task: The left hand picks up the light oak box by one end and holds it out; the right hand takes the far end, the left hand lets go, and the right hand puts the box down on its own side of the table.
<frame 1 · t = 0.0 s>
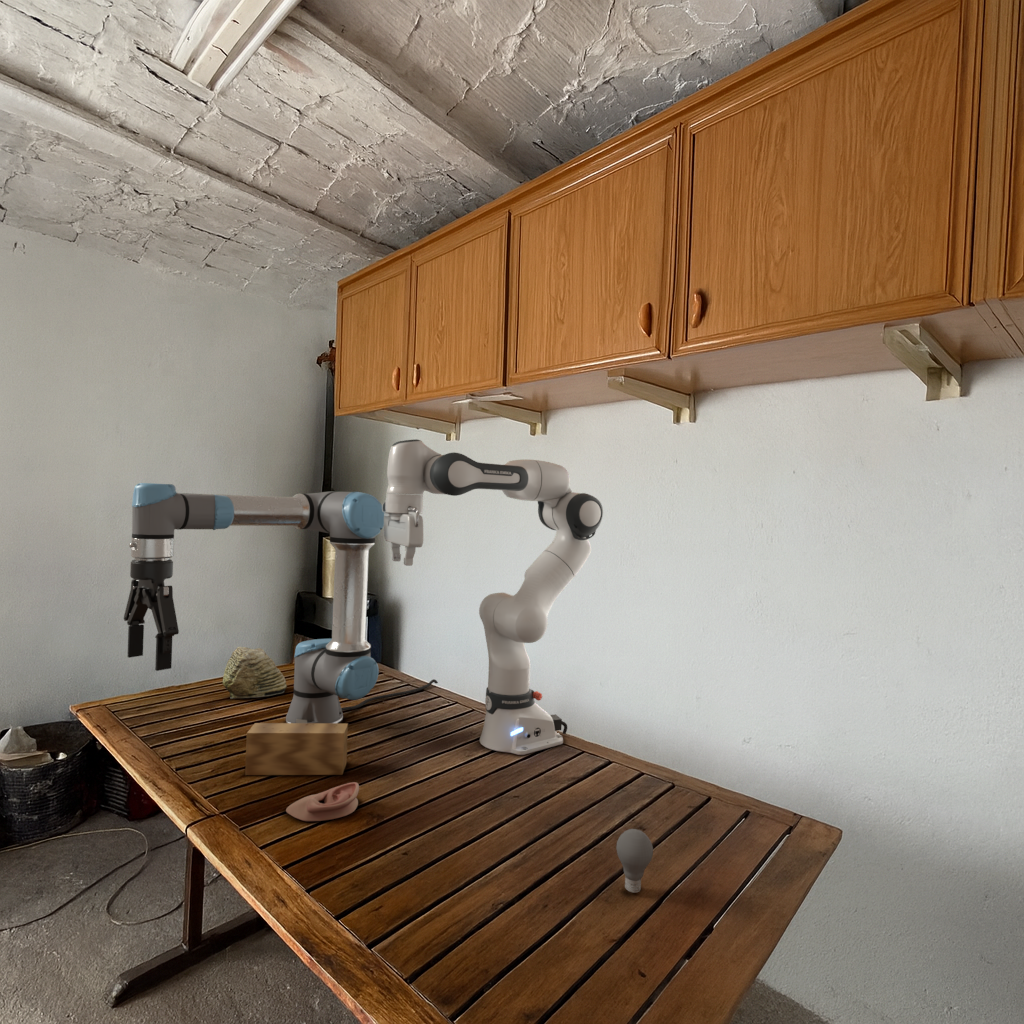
left hand: (148, 662, 129), 28 cm above the table, tool pointing down, fingers open, 13 cm apart
right hand: (402, 563, 153), 48 cm above the table, tool pointing down, fingers open, 8 cm apart
fossil: (254, 694, 198), on the table
anatomical model: (322, 809, 129), on the table
light bulb: (632, 891, 106), on the table
box: (297, 769, 147), on the table
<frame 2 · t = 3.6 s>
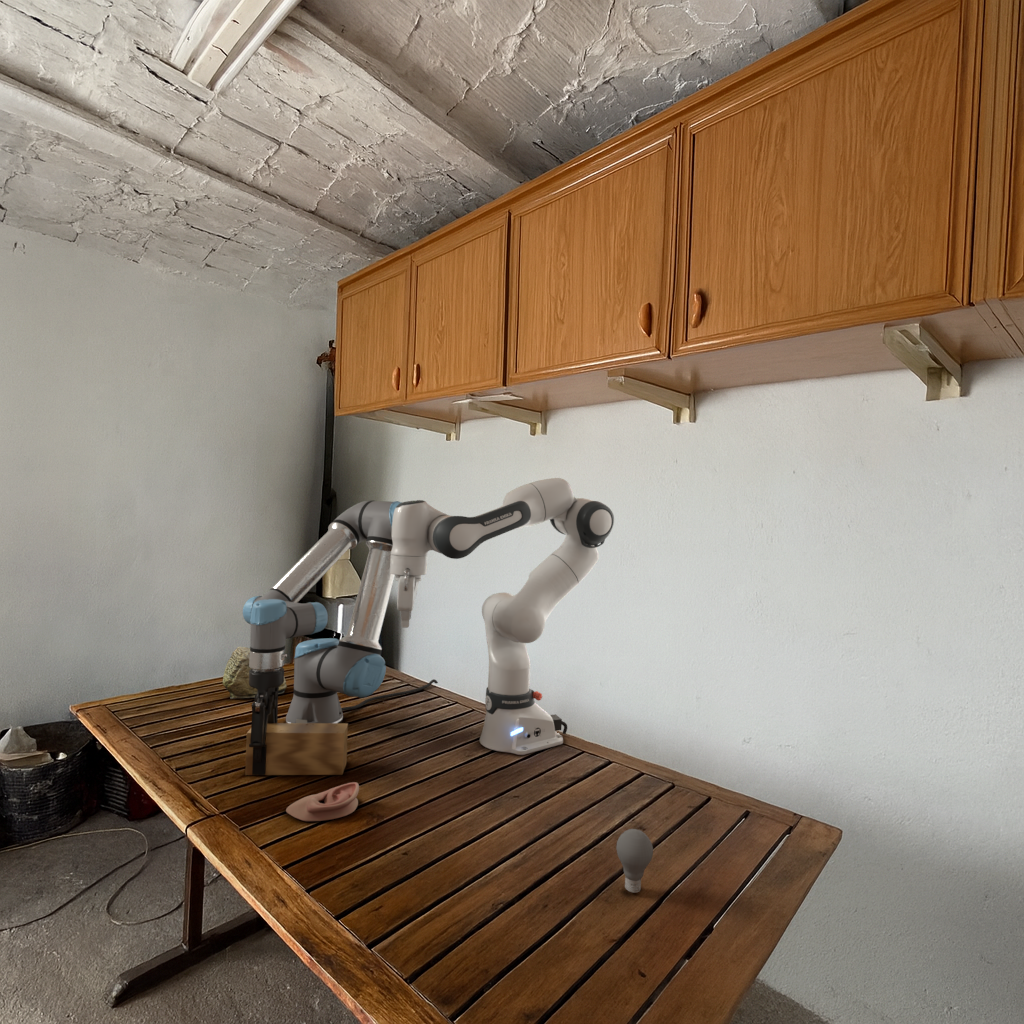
left hand: (263, 767, 146), 0 cm above the table, tool pointing down, fingers closed on box, 6 cm apart
right hand: (406, 623, 155), 33 cm above the table, tool pointing down, fingers open, 8 cm apart
box: (297, 769, 147), on the table, touching left hand
everything else where it was.
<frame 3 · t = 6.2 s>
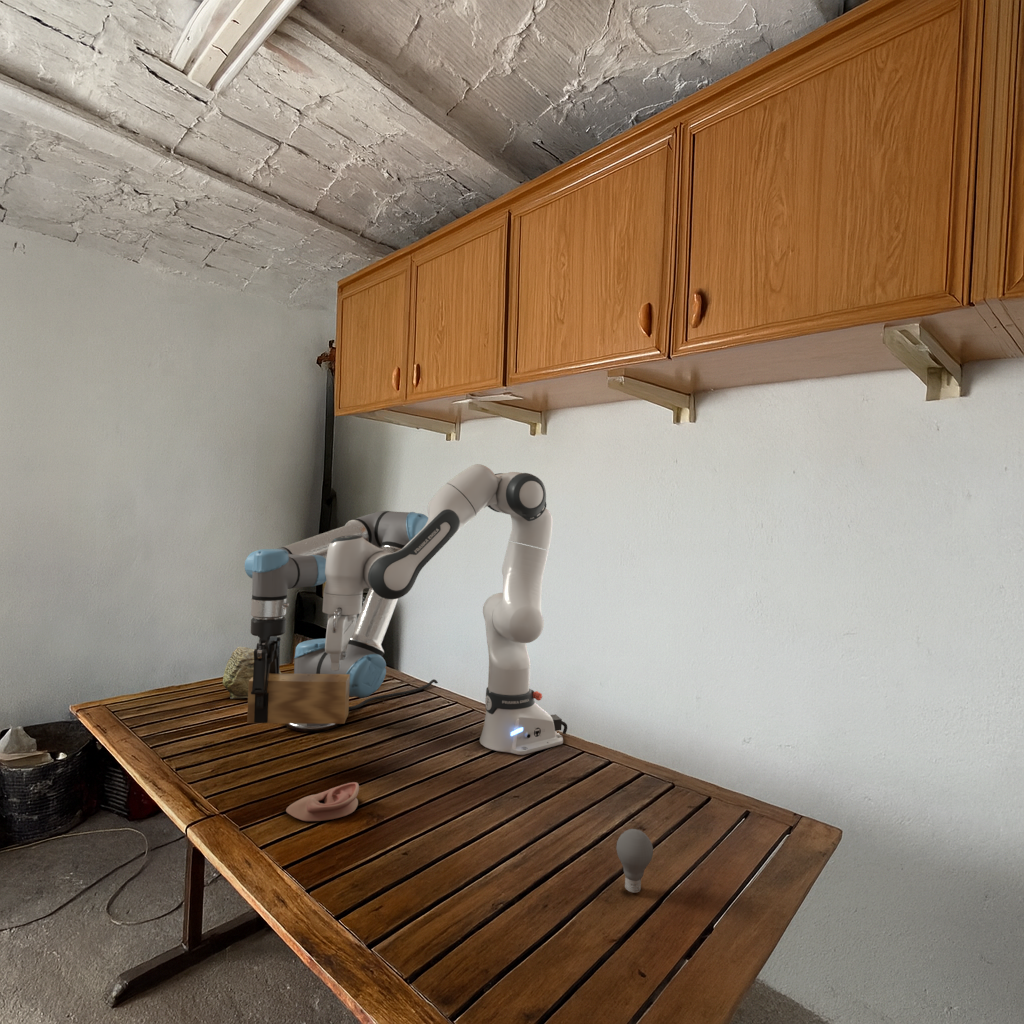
left hand: (265, 716, 146), 12 cm above the table, tool pointing down, fingers closed on box, 6 cm apart
right hand: (338, 664, 147), 25 cm above the table, tool pointing down, fingers open, 8 cm apart
box: (299, 718, 146), point 12 cm above the table, touching left hand
everything else where it was.
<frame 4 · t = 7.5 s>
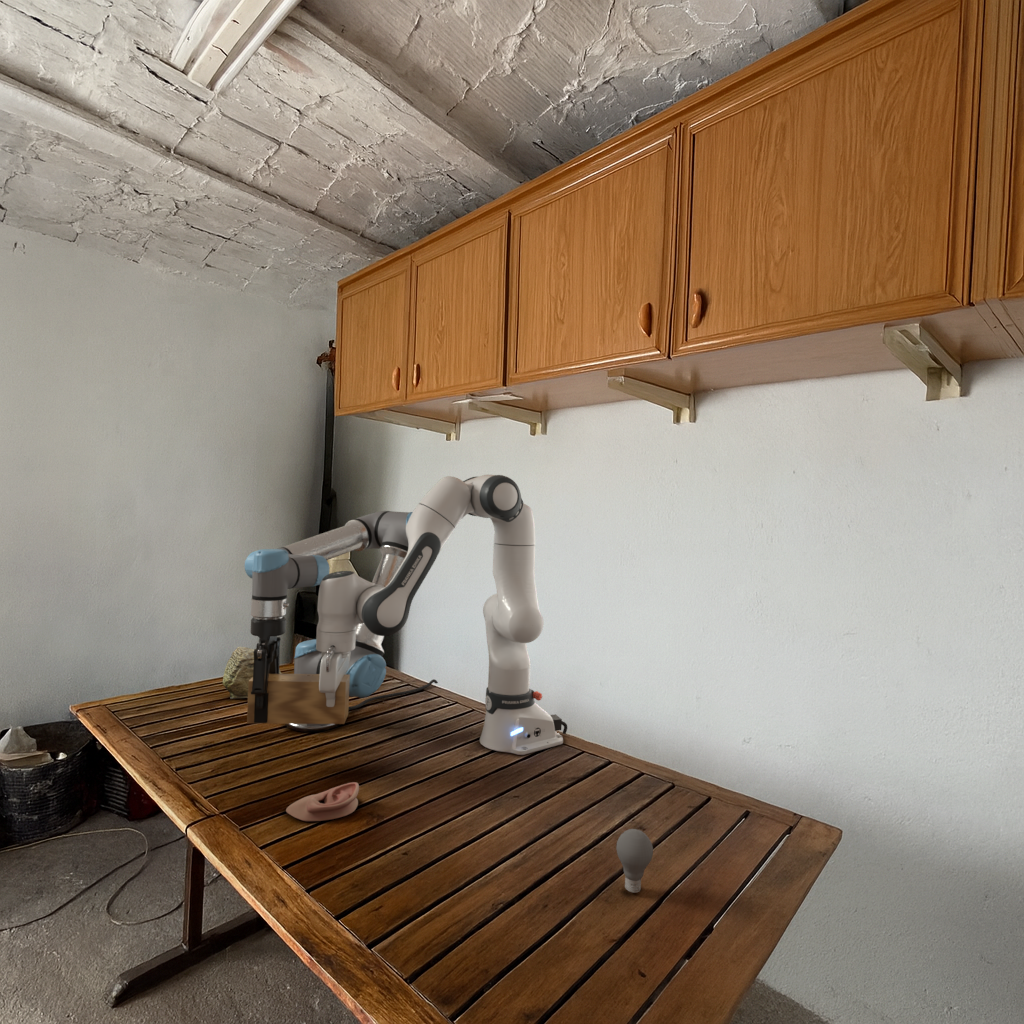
left hand: (265, 716, 146), 12 cm above the table, tool pointing down, fingers closed on box, 6 cm apart
right hand: (333, 700, 147), 16 cm above the table, tool pointing down, fingers closed on box, 6 cm apart
box: (299, 718, 146), point 12 cm above the table, touching left hand, right hand
everything else where it was.
when the left hand's fingers open (12 cm above the table, at t = 8.7 s): box stays where it is, held by the right hand.
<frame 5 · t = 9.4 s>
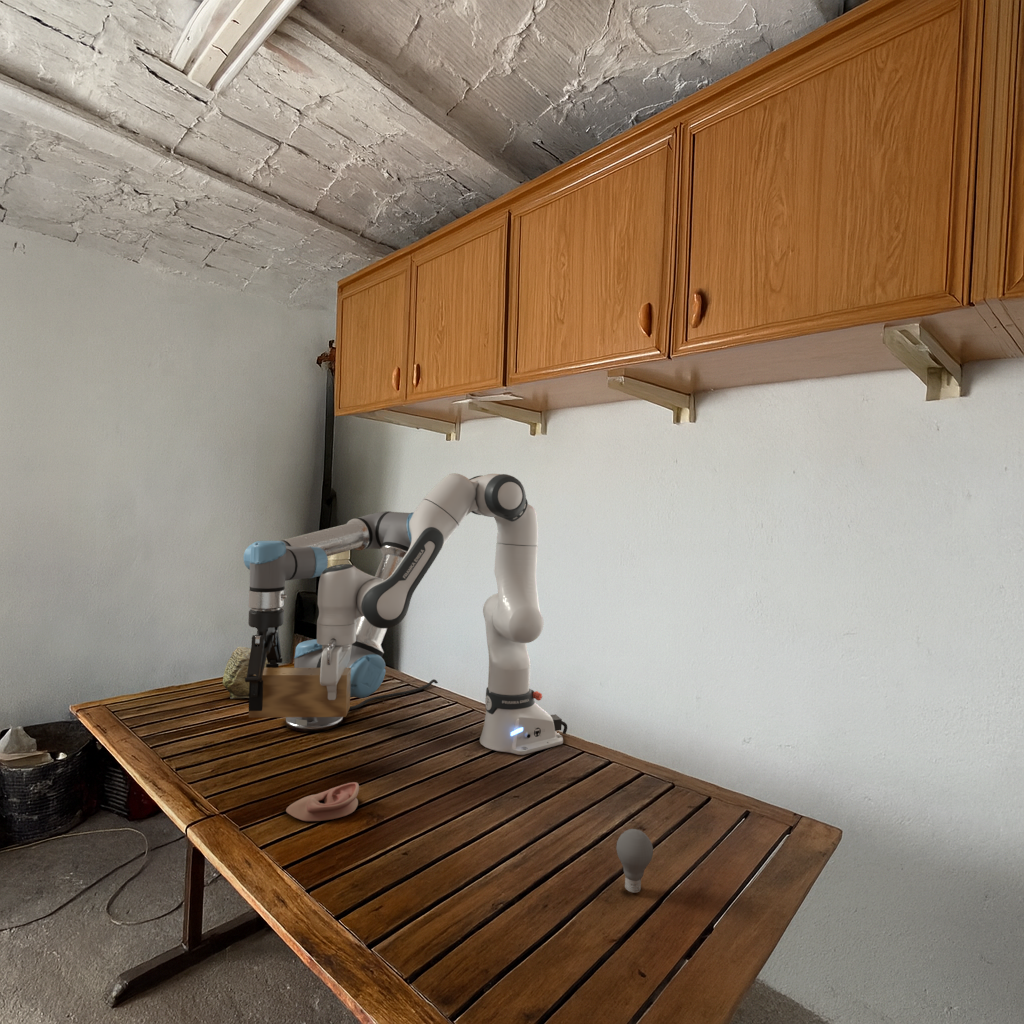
left hand: (263, 700, 146), 16 cm above the table, tool pointing down, fingers open, 13 cm apart
right hand: (335, 693, 147), 18 cm above the table, tool pointing down, fingers closed on box, 6 cm apart
box: (300, 712, 146), point 13 cm above the table, touching right hand
everything else where it was.
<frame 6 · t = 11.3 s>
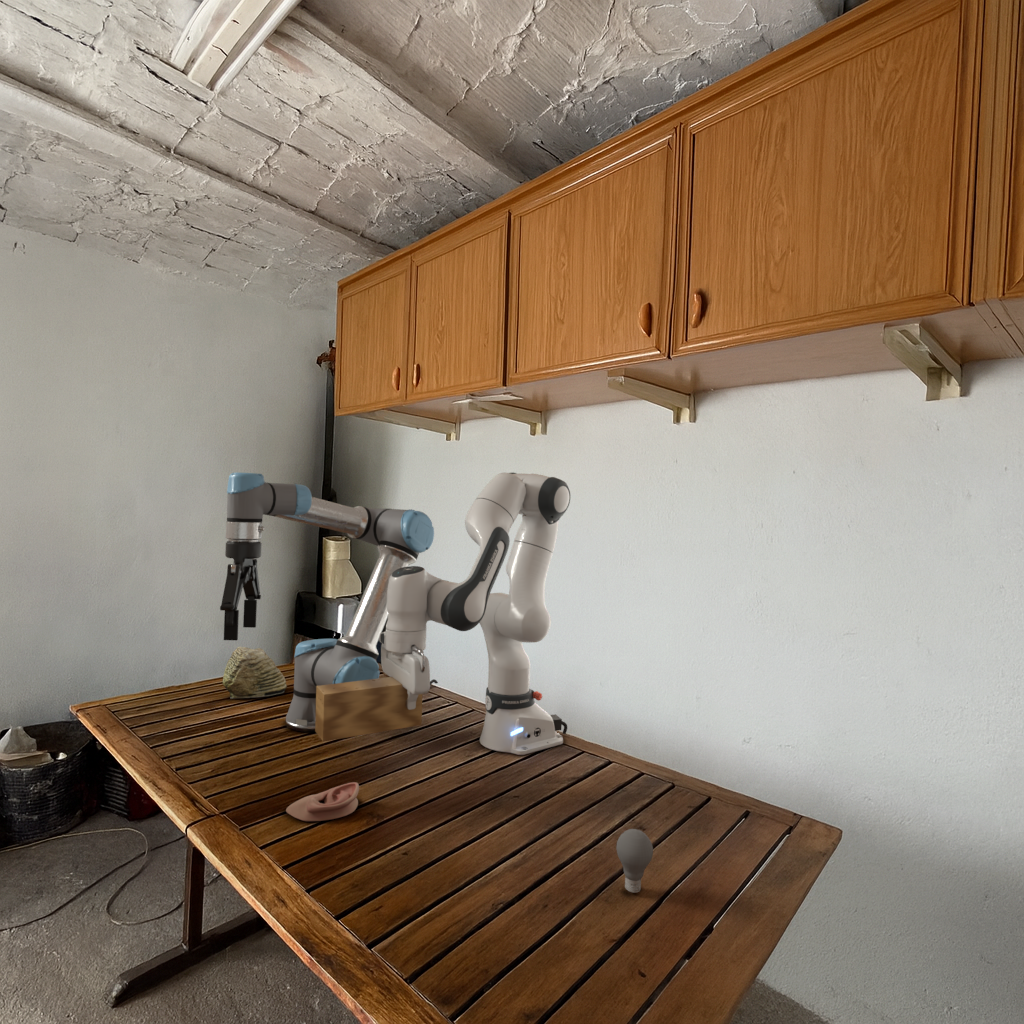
left hand: (240, 633, 144), 31 cm above the table, tool pointing down, fingers open, 13 cm apart
right hand: (403, 703, 140), 19 cm above the table, tool pointing down, fingers closed on box, 6 cm apart
box: (369, 728, 136), point 14 cm above the table, touching right hand
everything else where it was.
when the right hand's fingers open (5 cm above the table, at t = 15.4 s): box moves 1 cm, on the table.
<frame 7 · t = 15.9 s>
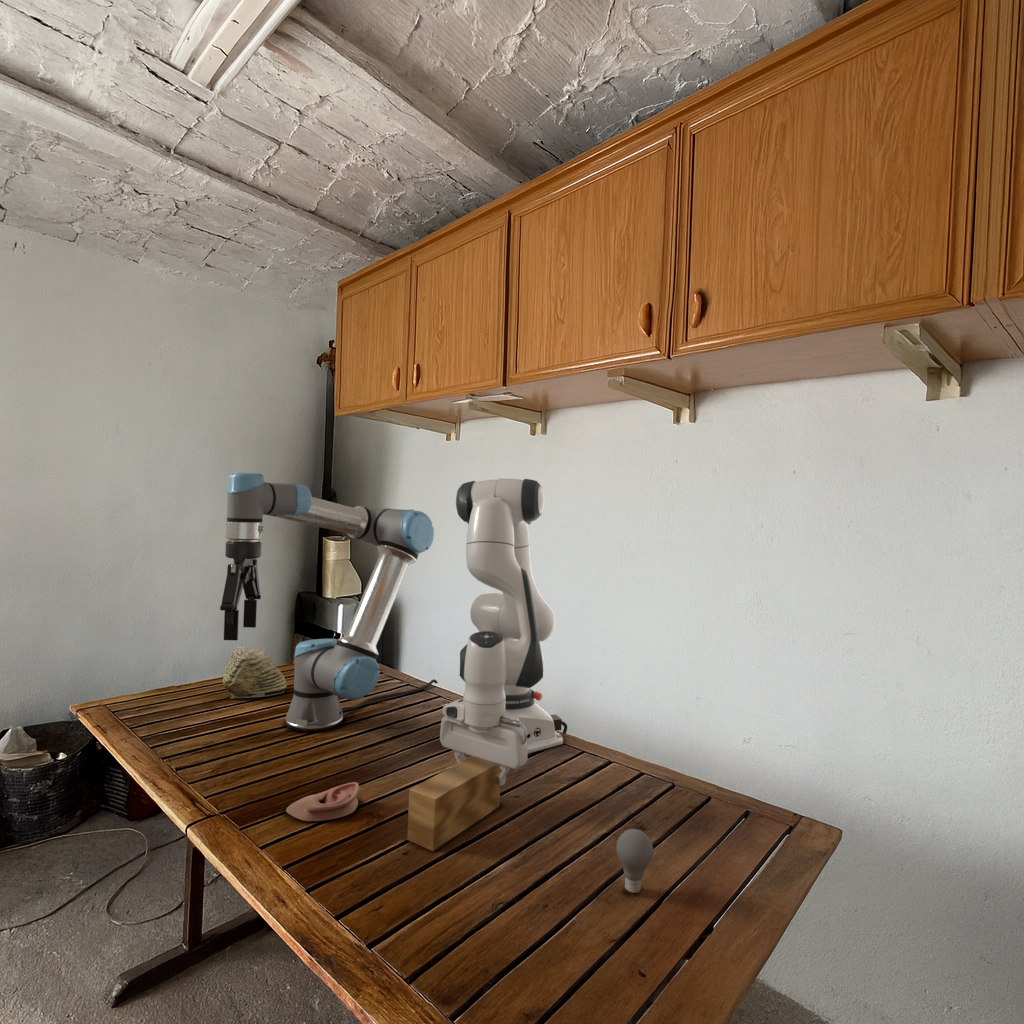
left hand: (240, 633, 144), 31 cm above the table, tool pointing down, fingers open, 13 cm apart
right hand: (481, 777, 132), 6 cm above the table, tool pointing down, fingers open, 8 cm apart
box: (455, 822, 126), on the table
everything else where it was.
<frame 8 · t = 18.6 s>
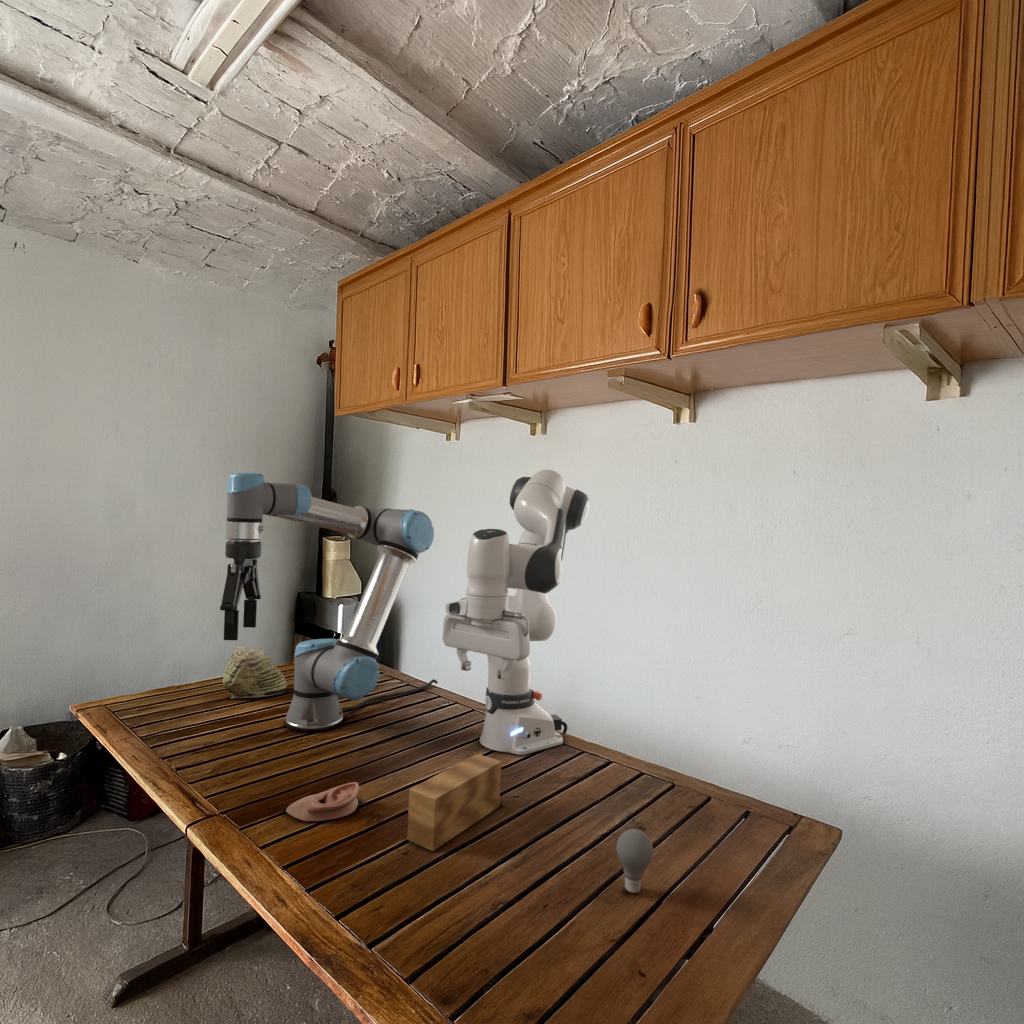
left hand: (240, 633, 144), 31 cm above the table, tool pointing down, fingers open, 13 cm apart
right hand: (483, 674, 131), 28 cm above the table, tool pointing down, fingers open, 8 cm apart
nothing on the table moved.
at the end: box inside the target area (7.3 cm from its centre), on the table; the left hand is holding nothing; the right hand is holding nothing; box at rest at the end (0.0 cm/s) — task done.
